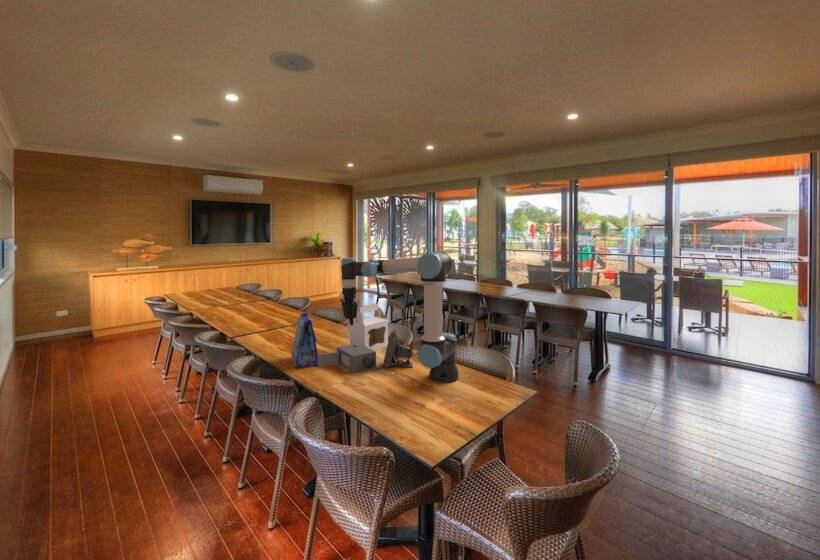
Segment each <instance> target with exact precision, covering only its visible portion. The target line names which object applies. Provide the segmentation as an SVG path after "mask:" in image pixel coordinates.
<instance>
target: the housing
mask: <svg viewBox="0 0 820 560" xmlns="http://www.w3.org/2000/svg"><path fill="white" fill-rule="evenodd" d="M338 351H340V360H341V363H340V364H339V365H341V366H342V367H343V368H345V369H347V370H348V371H350V372H351V373H357V372H358V373H359V372H363V371H366V370H367V371H368V370H371V369H375V368H377V351H376V350H372V349H370V348H368V347H366V346H364V345H361V344H359V343H357V344H352V345H350V344H347V345H341V346H337V347H336V352H338Z"/></svg>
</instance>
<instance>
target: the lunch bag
mask: <svg viewBox="0 0 820 560" xmlns="http://www.w3.org/2000/svg"><path fill="white" fill-rule="evenodd" d="M296 322H297V323H296V327H295V333H294V339H293V344H292V350H291V359H292V362H293V365H294V368H295V369H299V368H300V369H301V368H303V367H307V366H309V367H311V366H313V367H319V366H318V364H317V354H319V352H318V349H317V344H316V343H317V342H318V341H317V338H316V334H315V330H314V327H313V322H312V319H311V318H310V317H309V314H308V312H307V311H305V312H304V311H303V312H302V313H300V314H299V316H298V318H297V321H296Z"/></svg>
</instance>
